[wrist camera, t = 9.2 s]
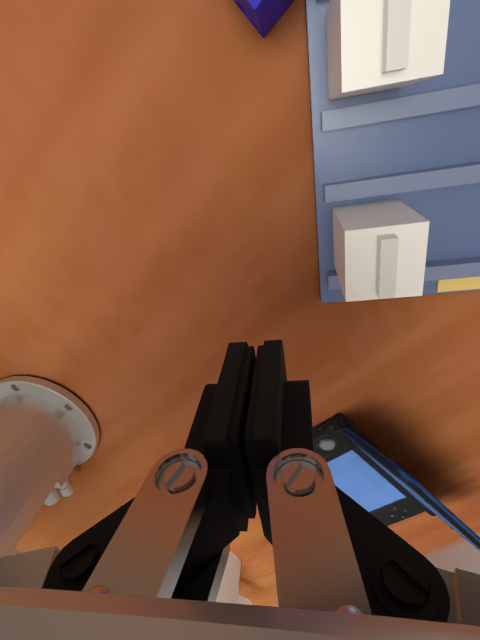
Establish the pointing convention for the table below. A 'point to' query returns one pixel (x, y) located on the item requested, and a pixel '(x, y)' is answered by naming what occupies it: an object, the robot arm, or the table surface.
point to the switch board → (404, 152)
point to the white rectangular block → (379, 250)
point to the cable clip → (263, 12)
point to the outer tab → (384, 44)
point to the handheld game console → (377, 478)
